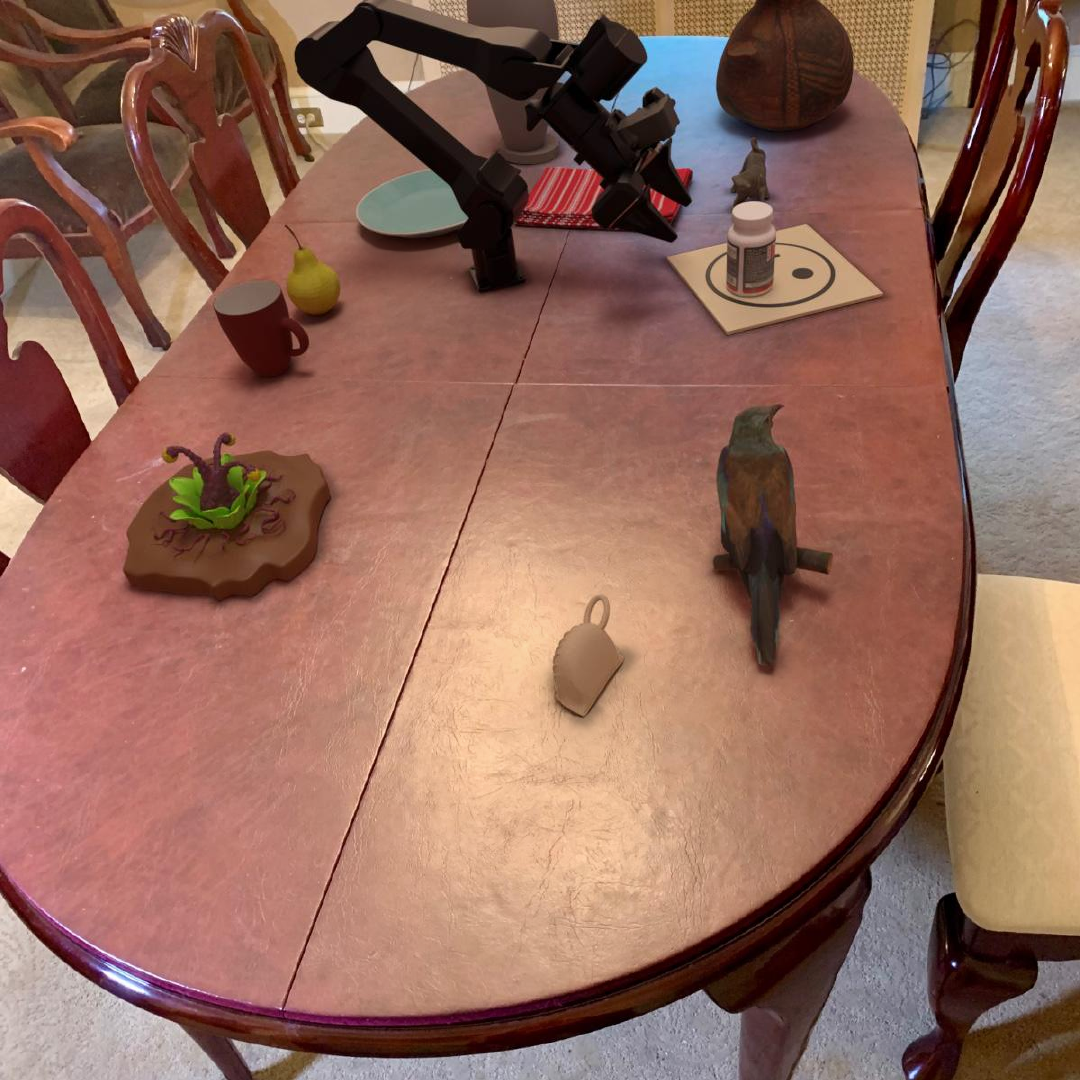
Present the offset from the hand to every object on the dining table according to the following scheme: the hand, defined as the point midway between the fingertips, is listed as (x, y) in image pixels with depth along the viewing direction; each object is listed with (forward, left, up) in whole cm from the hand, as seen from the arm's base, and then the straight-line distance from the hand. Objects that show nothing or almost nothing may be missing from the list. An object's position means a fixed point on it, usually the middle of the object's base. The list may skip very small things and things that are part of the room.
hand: (682, 221), depth 113 cm
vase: (-52, -7, -9) cm, 53 cm away
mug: (-4, -51, -9) cm, 52 cm away
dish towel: (-28, -1, -9) cm, 29 cm away
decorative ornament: (+54, -29, -9) cm, 62 cm away
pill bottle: (+4, +7, -9) cm, 12 cm away
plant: (+24, -58, -9) cm, 64 cm away
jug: (-44, +34, -9) cm, 56 cm away
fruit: (-16, -45, -9) cm, 49 cm away
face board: (+2, +11, -9) cm, 14 cm away
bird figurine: (+49, -11, -9) cm, 51 cm away
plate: (-37, -26, -9) cm, 46 cm away
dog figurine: (-18, +17, -9) cm, 26 cm away
